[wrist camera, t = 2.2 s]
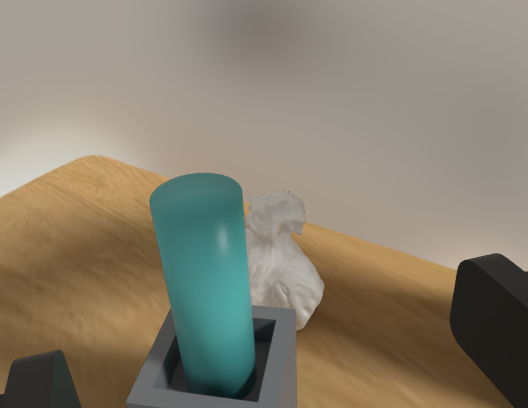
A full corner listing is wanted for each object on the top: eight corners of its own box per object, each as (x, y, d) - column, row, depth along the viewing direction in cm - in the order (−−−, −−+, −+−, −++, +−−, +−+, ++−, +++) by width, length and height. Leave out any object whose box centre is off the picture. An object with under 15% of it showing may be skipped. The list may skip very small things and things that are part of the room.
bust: (324, 348, 42) (377, 227, 41) (274, 352, 36) (335, 212, 35) (229, 285, 49) (273, 182, 48) (175, 280, 43) (224, 162, 42)
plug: (198, 344, 30) (168, 170, 23) (262, 351, 29) (250, 175, 22) (176, 401, 26) (134, 218, 20) (248, 411, 26) (229, 224, 19)
